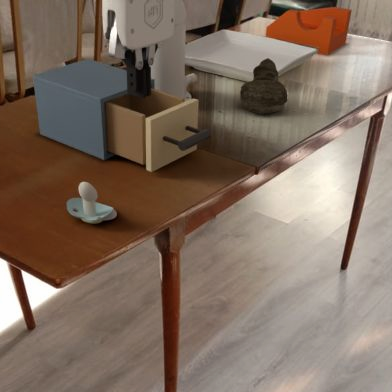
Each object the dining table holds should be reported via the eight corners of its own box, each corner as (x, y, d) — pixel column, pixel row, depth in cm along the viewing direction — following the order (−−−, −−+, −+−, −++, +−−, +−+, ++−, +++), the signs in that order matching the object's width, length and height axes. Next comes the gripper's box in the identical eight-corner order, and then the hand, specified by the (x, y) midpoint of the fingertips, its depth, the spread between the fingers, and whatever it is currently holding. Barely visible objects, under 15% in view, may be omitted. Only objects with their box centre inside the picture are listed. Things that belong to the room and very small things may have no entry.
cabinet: (155, 137, 118) (154, 79, 111) (104, 160, 110) (100, 99, 103) (92, 114, 125) (88, 58, 118) (40, 134, 117) (32, 75, 110)
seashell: (306, 74, 130) (266, 63, 134) (286, 52, 119) (243, 40, 124) (284, 128, 132) (245, 115, 137) (263, 110, 122) (221, 97, 126)
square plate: (268, 93, 138) (270, 75, 136) (165, 68, 148) (165, 51, 146) (317, 63, 156) (320, 46, 153) (222, 42, 166) (223, 26, 163)
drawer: (219, 157, 110) (222, 107, 104) (174, 181, 103) (175, 128, 97) (132, 126, 119) (131, 78, 113) (85, 146, 112) (81, 96, 106)
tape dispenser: (345, 43, 169) (351, 9, 164) (327, 55, 161) (333, 19, 156) (285, 31, 176) (289, -2, 171) (265, 42, 168) (268, 7, 162)
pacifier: (85, 203, 98) (62, 219, 94) (83, 165, 94) (59, 179, 90) (125, 215, 96) (103, 232, 91) (124, 177, 92) (101, 192, 87)
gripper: (118, -45, 73) (123, 114, 84) (195, -57, 82) (191, 88, 94) (72, -53, 76) (83, 101, 88) (151, -64, 85) (152, 77, 97)
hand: (139, 94), depth 91 cm, fingers closed
